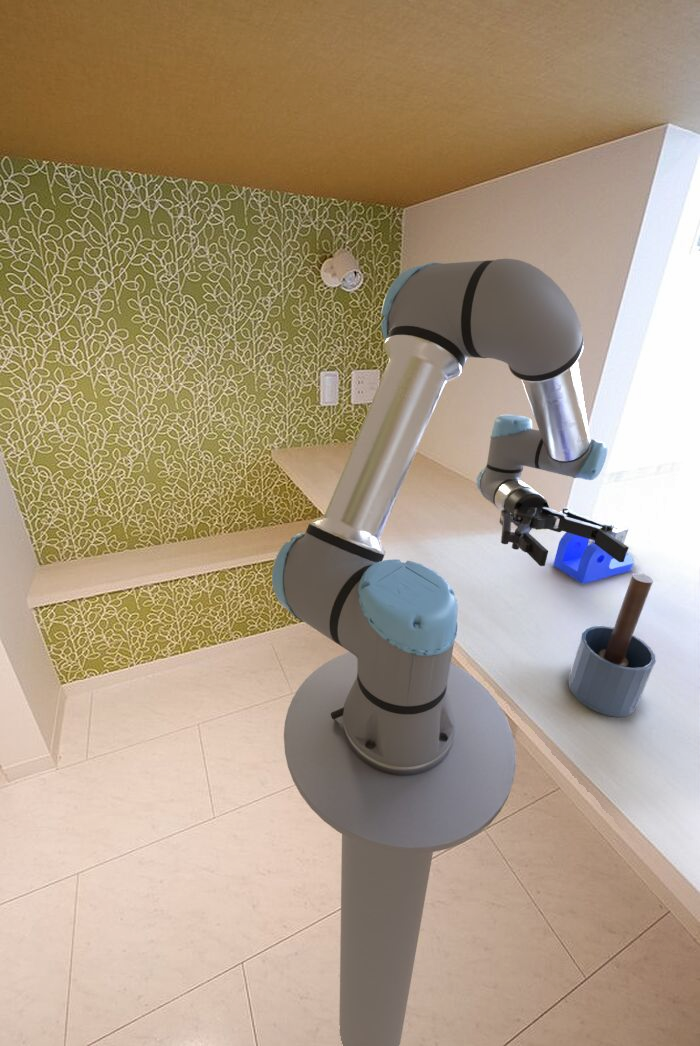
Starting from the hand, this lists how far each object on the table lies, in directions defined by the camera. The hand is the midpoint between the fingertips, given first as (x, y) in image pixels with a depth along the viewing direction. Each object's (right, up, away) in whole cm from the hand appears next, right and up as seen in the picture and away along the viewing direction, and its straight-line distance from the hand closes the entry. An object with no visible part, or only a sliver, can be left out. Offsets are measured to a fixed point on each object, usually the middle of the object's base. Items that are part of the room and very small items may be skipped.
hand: (584, 556), depth 69 cm
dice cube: (+29, 0, +43) cm, 52 cm away
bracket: (+20, -5, +32) cm, 38 cm away
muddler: (+2, -20, -2) cm, 20 cm away
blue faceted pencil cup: (+2, -21, -2) cm, 21 cm away
